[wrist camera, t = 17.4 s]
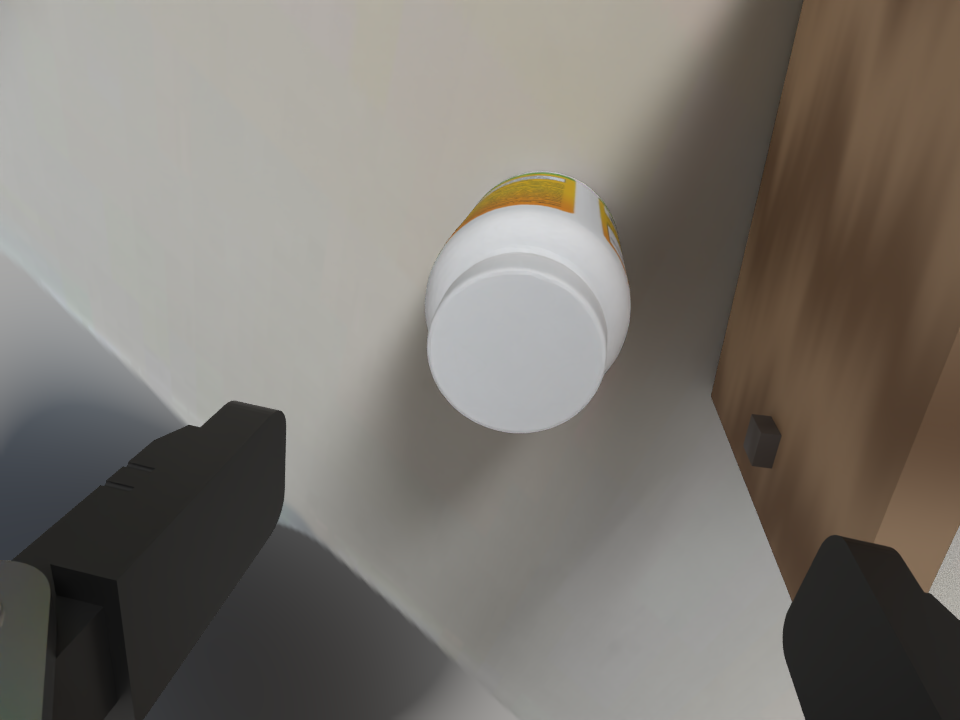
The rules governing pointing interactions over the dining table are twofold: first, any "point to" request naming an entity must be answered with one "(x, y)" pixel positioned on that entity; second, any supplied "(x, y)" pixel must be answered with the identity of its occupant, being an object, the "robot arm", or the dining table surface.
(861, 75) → the door
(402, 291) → the dining table surface
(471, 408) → the supplement bottle
